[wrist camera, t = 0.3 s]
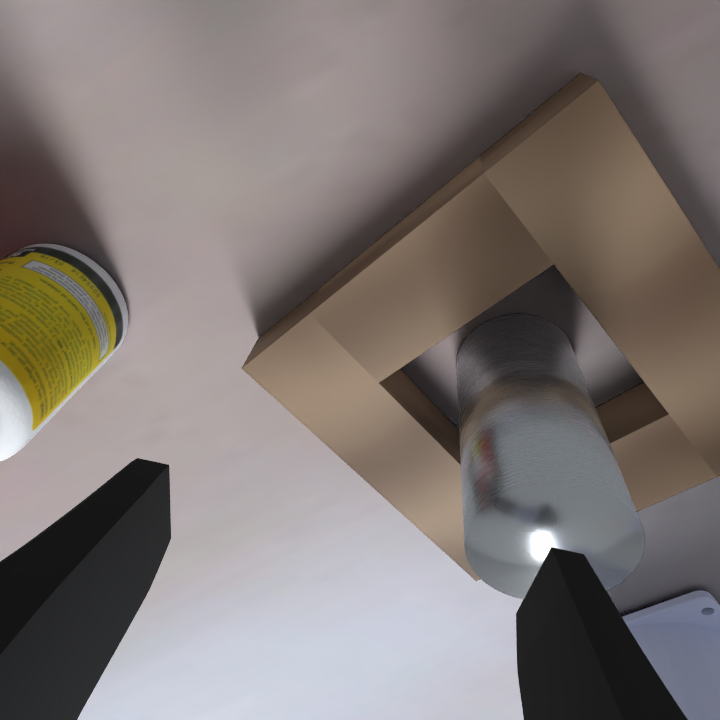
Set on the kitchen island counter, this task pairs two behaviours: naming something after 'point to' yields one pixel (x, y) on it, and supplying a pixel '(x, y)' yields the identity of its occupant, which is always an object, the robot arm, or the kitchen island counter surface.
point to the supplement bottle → (51, 334)
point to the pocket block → (493, 283)
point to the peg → (536, 460)
